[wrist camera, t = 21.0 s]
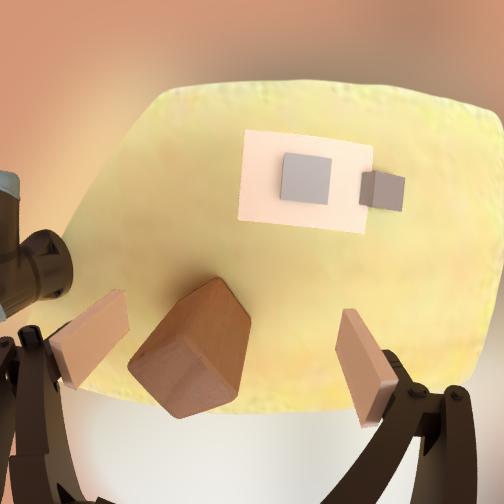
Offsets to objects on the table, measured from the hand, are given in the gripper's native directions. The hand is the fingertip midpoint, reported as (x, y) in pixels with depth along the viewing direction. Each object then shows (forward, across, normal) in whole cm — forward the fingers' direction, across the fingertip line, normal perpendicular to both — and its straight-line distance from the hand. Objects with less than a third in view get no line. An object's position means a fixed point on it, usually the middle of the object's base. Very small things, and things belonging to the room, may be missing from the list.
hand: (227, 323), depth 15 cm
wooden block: (+28, -6, -14) cm, 32 cm away
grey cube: (+28, +18, +9) cm, 34 cm away
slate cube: (+28, +6, +9) cm, 30 cm away
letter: (+28, +8, +9) cm, 30 cm away
